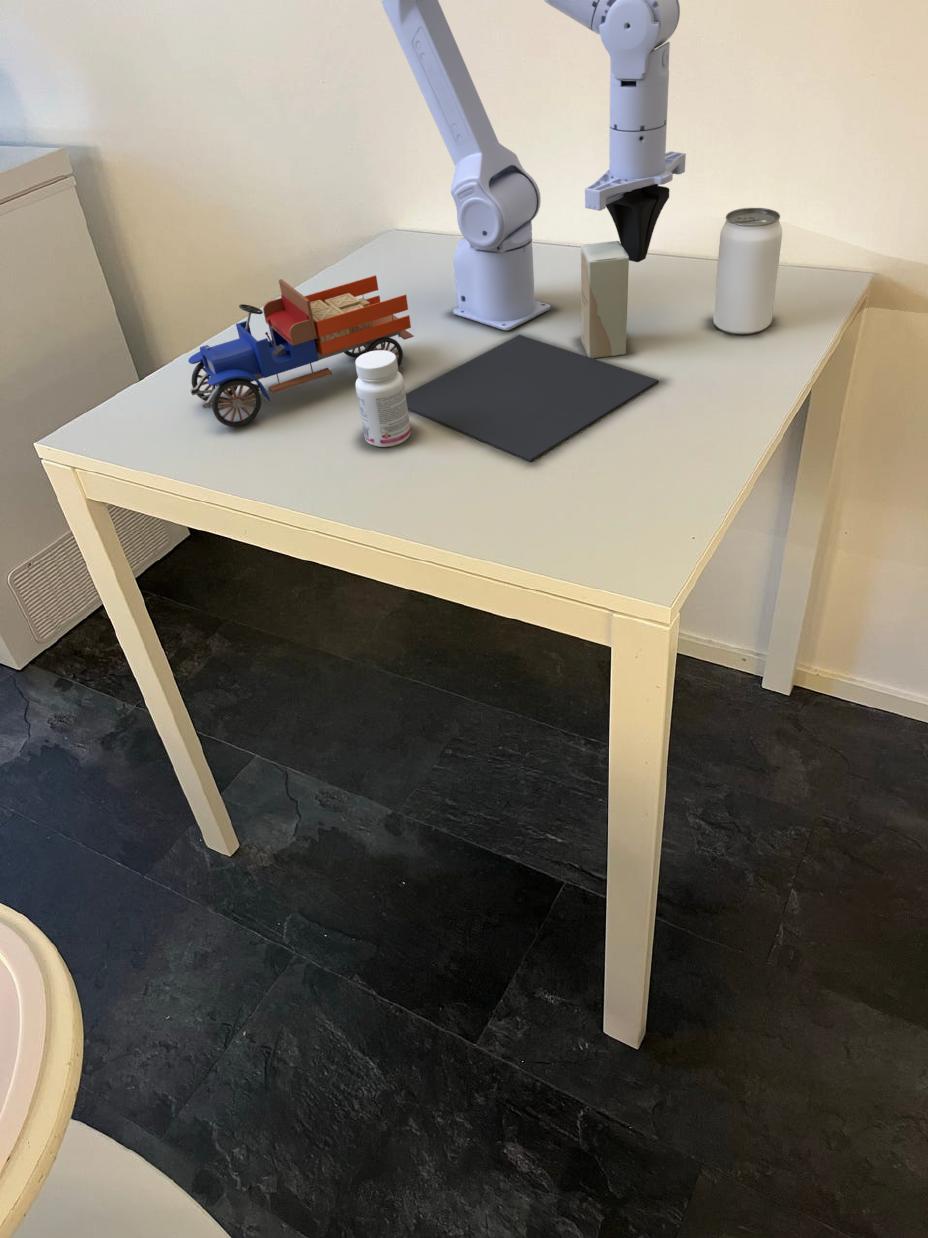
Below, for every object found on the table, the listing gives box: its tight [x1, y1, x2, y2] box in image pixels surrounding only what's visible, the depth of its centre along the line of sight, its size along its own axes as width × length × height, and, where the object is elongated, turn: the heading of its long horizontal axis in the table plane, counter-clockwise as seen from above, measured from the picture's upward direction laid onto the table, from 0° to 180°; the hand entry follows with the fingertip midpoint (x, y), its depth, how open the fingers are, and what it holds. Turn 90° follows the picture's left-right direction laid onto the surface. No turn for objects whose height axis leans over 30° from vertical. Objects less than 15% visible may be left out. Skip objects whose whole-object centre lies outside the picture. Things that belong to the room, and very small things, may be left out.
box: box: [580, 240, 630, 359], centre depth 105 cm, size 5×4×11 cm
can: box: [712, 207, 783, 335], centre depth 106 cm, size 6×6×12 cm
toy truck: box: [188, 275, 414, 428], centre depth 104 cm, size 8×25×11 cm, turn 120°
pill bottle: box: [354, 349, 412, 448], centre depth 95 cm, size 5×5×8 cm
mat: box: [406, 334, 660, 463], centre depth 102 cm, size 20×20×1 cm
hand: (634, 258), depth 106 cm, fingers closed
